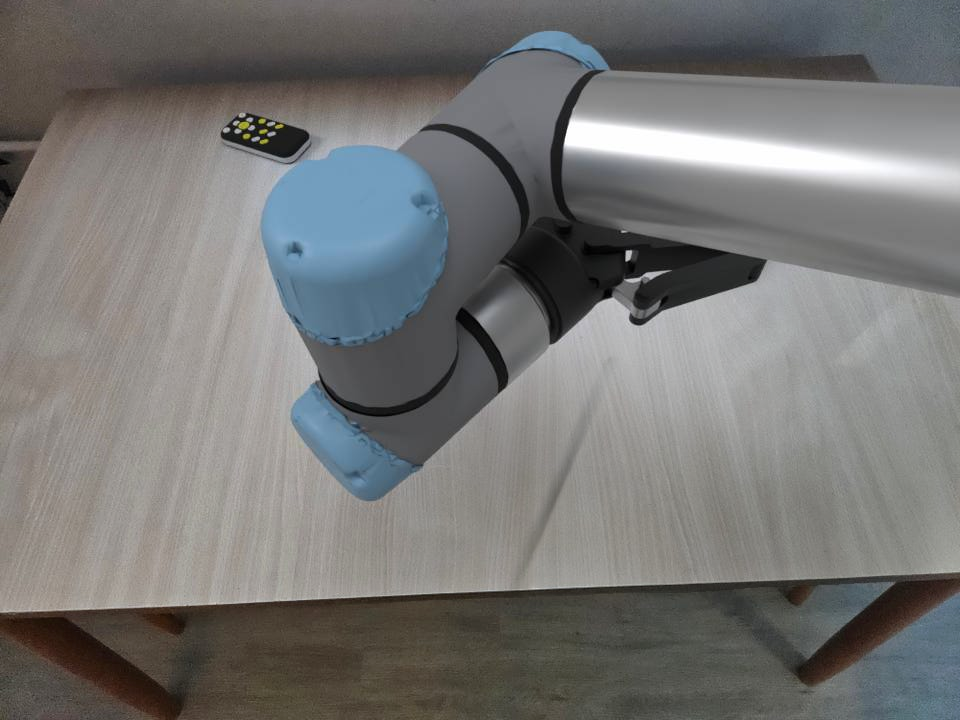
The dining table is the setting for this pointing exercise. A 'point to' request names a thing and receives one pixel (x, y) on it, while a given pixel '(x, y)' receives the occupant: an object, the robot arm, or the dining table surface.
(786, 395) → the dining table surface
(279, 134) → the remote control
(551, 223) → the robot arm
